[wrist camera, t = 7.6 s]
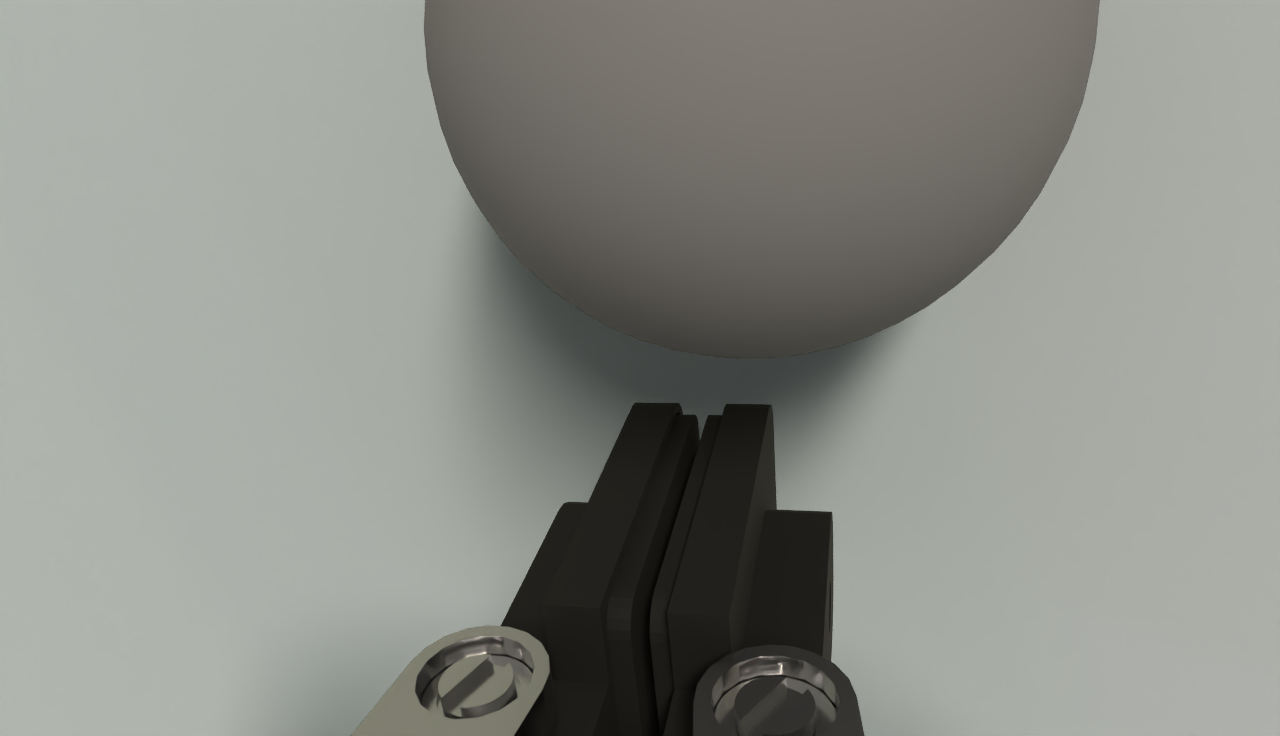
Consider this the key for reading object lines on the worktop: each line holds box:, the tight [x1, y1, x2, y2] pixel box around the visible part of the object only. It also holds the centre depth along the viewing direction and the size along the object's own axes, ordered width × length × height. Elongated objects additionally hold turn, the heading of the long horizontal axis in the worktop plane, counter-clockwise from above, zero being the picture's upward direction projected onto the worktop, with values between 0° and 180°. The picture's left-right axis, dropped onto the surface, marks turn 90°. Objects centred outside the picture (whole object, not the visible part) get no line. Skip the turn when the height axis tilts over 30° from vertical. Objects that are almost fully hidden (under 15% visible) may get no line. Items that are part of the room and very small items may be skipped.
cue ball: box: [424, 0, 1100, 358], centre depth 9 cm, size 6×6×6 cm
